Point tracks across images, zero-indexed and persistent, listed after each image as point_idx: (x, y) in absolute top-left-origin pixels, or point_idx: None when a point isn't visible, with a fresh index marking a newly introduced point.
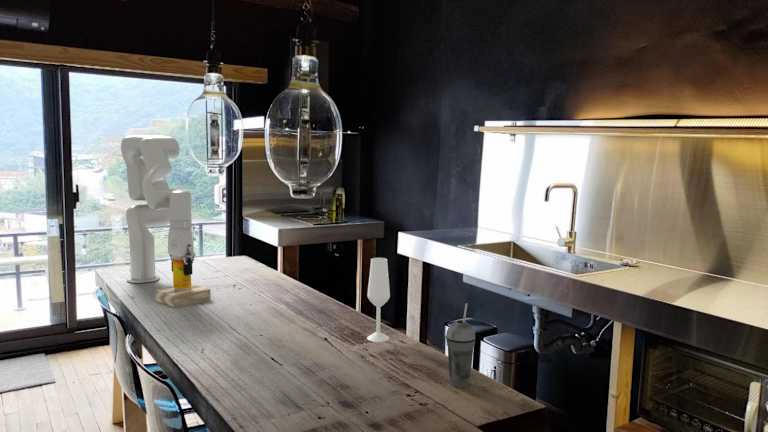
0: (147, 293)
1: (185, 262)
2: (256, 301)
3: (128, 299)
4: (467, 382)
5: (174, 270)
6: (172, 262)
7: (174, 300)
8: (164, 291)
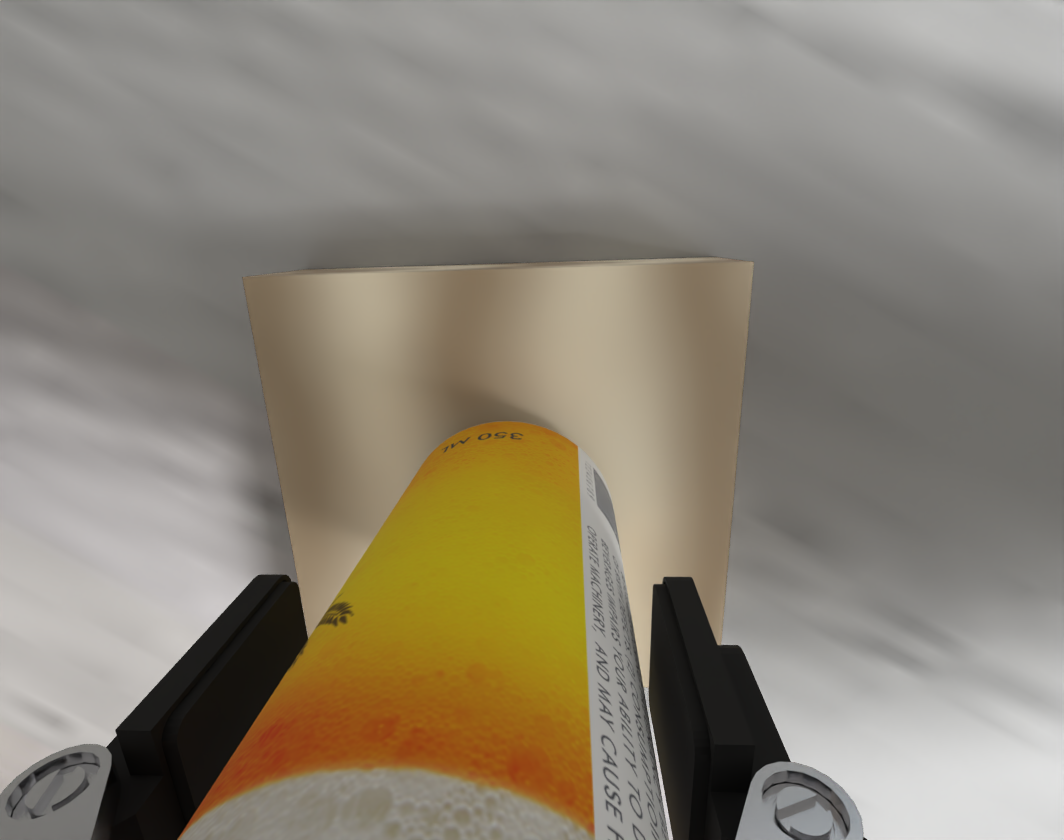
0: (1052, 346)
1: (52, 803)
2: None
3: (1021, 47)
4: None
5: (448, 543)
6: (707, 726)
7: (290, 272)
8: (572, 309)
